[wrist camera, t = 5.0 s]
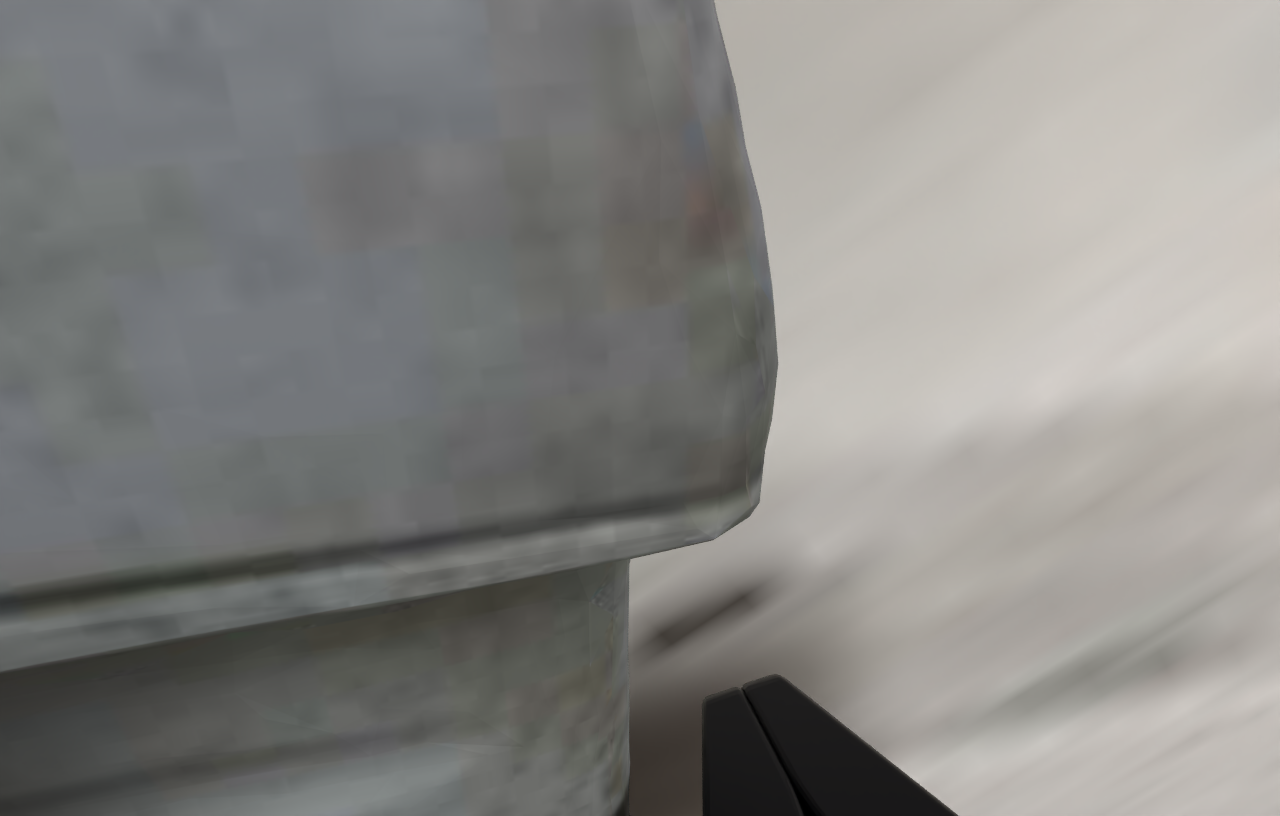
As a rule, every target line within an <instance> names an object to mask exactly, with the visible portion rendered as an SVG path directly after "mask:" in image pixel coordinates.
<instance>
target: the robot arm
mask: <svg viewBox="0 0 1280 816" xmlns="http://www.w3.org/2000/svg"><path fill="white" fill-rule="evenodd" d="M702 792H703V816H958V815H957V814H956V813H955V812H953V811H952V810H951V809H950V808H948V807H947V806H946V805H944V804H943V803H942V802H941V801H939V800H938V799H937V798H936V797H934V796H933V795H932V794H931V793H929V792H928V791H927V790H926V789H924V788H923V787H922V786H920V785H919V784H918V783H917V782H915V781H914V780H913V779H912V778H910V777H909V776H908V775H907V774H905V773H904V772H903V771H902V770H900V769H899V768H898V767H897V766H895V765H894V764H893V763H891V762H890V761H889V760H888V759H886V758H885V757H884V756H883V755H881V754H880V753H879V752H878V751H876V750H875V749H874V748H873V747H871V746H870V745H869V744H867V743H866V742H865V741H864V740H862V739H861V738H860V737H859V736H857V735H856V734H855V733H854V732H852V731H851V730H850V729H849V728H847V727H846V726H845V725H843V724H842V723H841V722H840V721H838V720H837V719H836V718H835V717H833V716H832V715H831V714H830V713H828V712H827V711H826V710H825V709H823V708H822V707H821V706H820V705H818V704H817V703H816V702H814V701H813V700H812V699H811V698H809V697H808V696H807V695H806V694H804V693H803V692H802V691H801V690H799V689H798V688H797V687H796V686H794V685H793V684H792V683H790V682H789V681H788V680H787V679H785V678H784V677H782V676H780V675H776V674H774V675H769V676H766V677H763V678H760V679H757V680H754V681H751V682H748V683H746V684H744V685H743V686H742V687H741V688H738V687H734V688H731V689H728V690H725V691H722V692H719V693H716V694H713V695H710V696H707V697H706V698H705V699H704V700H703V703H702Z"/></svg>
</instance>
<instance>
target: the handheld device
mask: <svg viewBox="0 0 1280 816" xmlns="http://www.w3.org/2000/svg"><path fill="white" fill-rule="evenodd" d="M777 369H778V356H777V342H776V328H775V315H774V302H773V291H772V281H771V274H770V267H769V260H768V253H767V246H766V238H765V231H764V224H763V217H762V210H761V205H760V201H759V197H758V193H757V189H756V185H755V182H754V178H753V174H752V170H751V166H750V162H749V158H748V154H747V150H746V146H745V140H744V134H743V128H742V122H741V116H740V110H739V104H738V98H737V93H736V87H735V83H734V80H733V76H732V72H731V68H730V64H729V60H728V56H727V52H726V49H725V45H724V41H723V37H722V33H721V29H720V25H719V21H718V18H717V13H716V8H715V3H714V0H0V816H630V814H629V774H630V753H629V671H628V610H629V563H630V559H633V558H637V557H641V556H646V555H650V554H654V553H659V552H663V551H668V550H672V549H676V548H681V547H685V546H689V545H694V544H698V543H702V542H707V541H711V540H714V539H716V538H717V537H719V536H720V535H722V534H723V533H725V532H726V531H728V530H730V529H731V528H733V527H734V526H736V525H737V524H739V523H740V522H742V521H743V520H745V519H746V518H748V517H750V515H751V514H752V512H753V511H754V509H755V508H756V506H757V505H758V503H759V501H760V492H761V483H762V473H763V464H764V454H765V448H766V443H767V439H768V434H769V430H770V425H771V421H772V414H773V405H774V396H775V387H776V378H777Z"/></svg>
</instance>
